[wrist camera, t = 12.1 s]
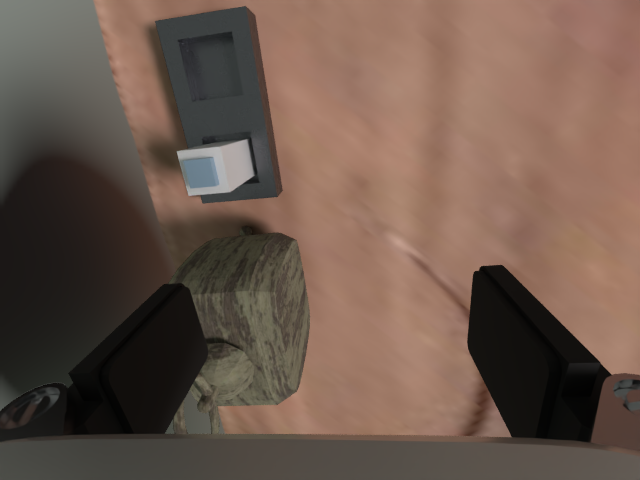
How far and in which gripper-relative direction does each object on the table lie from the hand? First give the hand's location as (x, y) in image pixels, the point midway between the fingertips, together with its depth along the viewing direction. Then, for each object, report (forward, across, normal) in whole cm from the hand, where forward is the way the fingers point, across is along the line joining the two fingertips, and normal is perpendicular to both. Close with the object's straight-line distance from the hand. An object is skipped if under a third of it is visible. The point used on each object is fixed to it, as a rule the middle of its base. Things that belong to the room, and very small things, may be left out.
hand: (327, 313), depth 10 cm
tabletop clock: (+28, +10, +12) cm, 32 cm away
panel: (+28, +12, -7) cm, 32 cm away
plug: (+27, +12, -2) cm, 30 cm away
